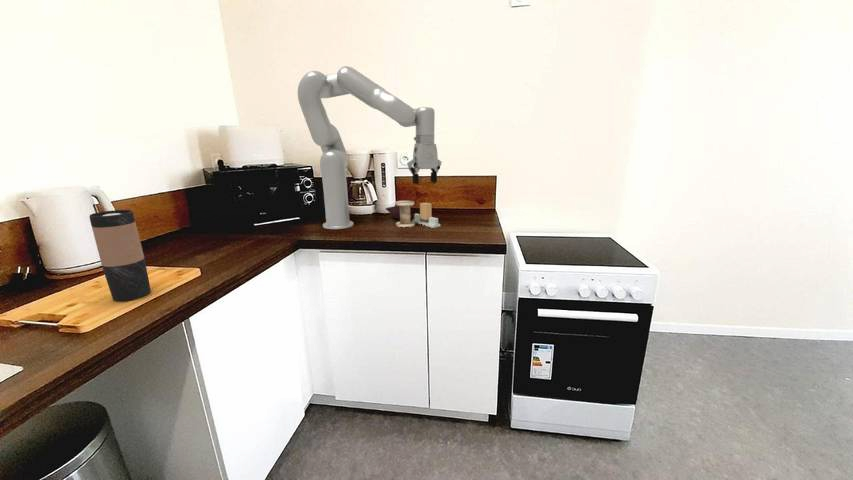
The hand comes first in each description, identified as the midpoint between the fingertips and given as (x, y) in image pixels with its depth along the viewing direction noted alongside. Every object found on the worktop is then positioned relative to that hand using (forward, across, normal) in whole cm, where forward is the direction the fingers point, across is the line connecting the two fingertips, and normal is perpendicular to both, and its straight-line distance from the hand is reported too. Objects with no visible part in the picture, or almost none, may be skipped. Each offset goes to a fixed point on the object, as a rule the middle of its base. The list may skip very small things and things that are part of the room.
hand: (424, 182), depth 148 cm
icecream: (+18, -2, +17) cm, 25 cm away
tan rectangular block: (+17, 0, 0) cm, 17 cm away
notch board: (+18, 0, 0) cm, 18 cm away
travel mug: (+19, -99, -10) cm, 101 cm away
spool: (+18, -8, +4) cm, 20 cm away
